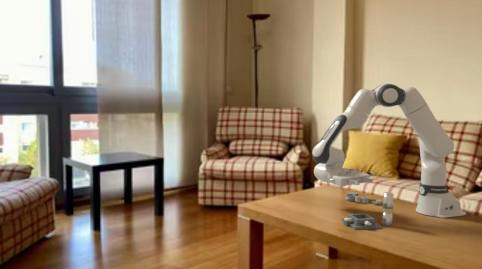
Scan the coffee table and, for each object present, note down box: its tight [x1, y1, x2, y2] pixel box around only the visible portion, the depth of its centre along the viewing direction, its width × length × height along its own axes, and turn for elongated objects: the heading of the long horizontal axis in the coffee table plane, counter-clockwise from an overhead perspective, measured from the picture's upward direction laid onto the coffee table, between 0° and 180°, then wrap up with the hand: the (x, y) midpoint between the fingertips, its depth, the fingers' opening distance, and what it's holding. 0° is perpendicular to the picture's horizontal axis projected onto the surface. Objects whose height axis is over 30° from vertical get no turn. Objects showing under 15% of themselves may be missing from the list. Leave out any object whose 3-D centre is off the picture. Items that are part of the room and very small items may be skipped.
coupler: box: [381, 191, 394, 227], centre depth 180 cm, size 4×4×14 cm
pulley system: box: [344, 191, 383, 206], centre depth 224 cm, size 27×5×15 cm
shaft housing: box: [341, 212, 382, 231], centre depth 180 cm, size 14×14×4 cm
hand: (365, 182), depth 189 cm, fingers open, 8 cm apart
